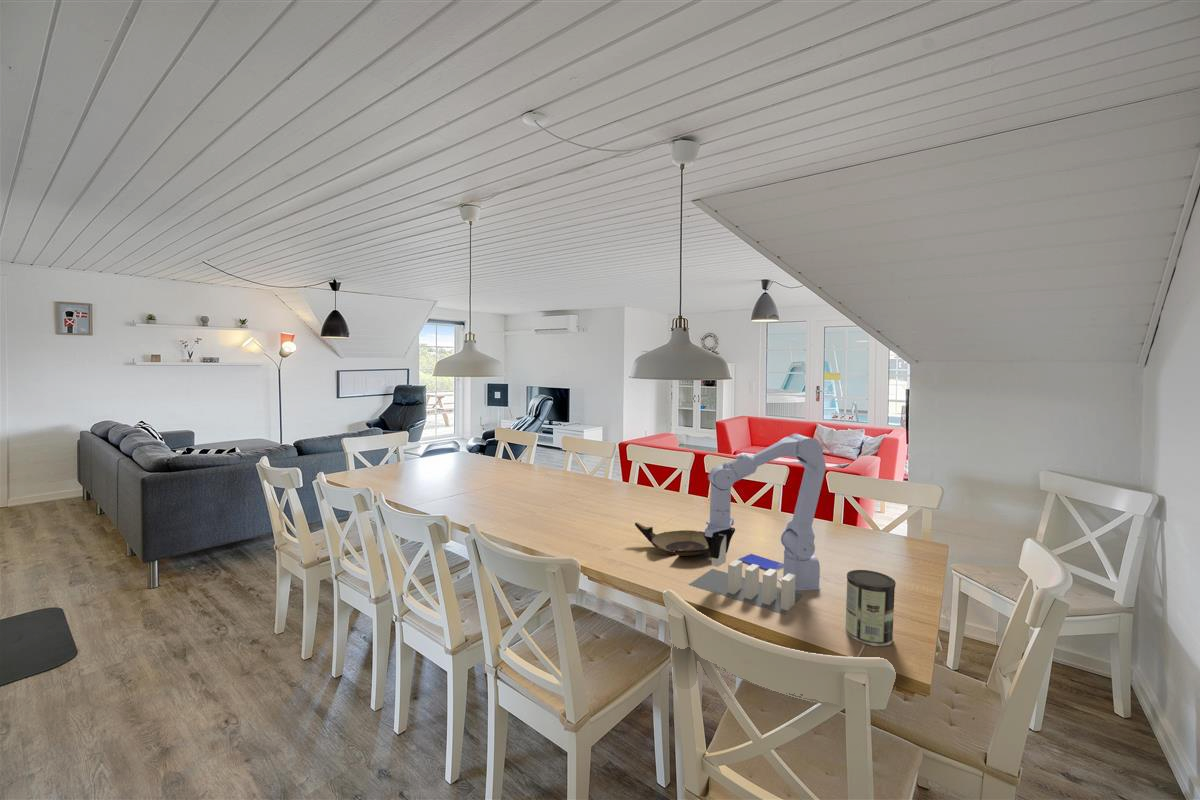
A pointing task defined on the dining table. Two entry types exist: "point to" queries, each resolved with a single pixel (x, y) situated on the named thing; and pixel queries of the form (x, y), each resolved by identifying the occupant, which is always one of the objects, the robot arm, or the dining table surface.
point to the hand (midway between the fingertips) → (719, 554)
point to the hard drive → (761, 562)
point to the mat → (719, 584)
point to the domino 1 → (722, 553)
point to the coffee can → (870, 607)
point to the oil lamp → (677, 541)
